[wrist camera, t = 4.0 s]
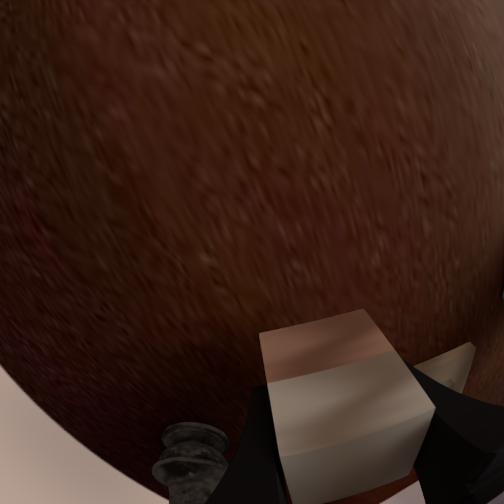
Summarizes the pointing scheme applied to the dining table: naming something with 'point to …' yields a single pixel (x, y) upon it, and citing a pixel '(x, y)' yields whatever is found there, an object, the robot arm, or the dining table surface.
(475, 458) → the robot arm
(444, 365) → the pocket board
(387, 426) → the brown and beige block
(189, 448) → the dark grey chess piece
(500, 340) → the dining table surface
